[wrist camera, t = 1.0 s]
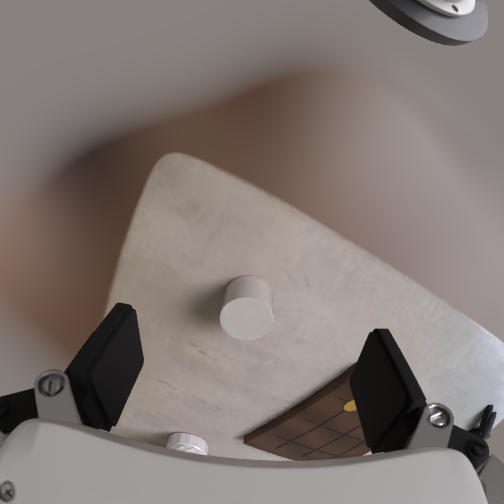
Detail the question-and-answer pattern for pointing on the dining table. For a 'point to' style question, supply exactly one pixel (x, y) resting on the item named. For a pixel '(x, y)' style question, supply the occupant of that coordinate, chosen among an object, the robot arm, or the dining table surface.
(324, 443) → the board
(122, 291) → the dining table surface
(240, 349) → the dining table surface
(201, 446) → the white cup
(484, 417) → the can opener
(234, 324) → the white cylinder
